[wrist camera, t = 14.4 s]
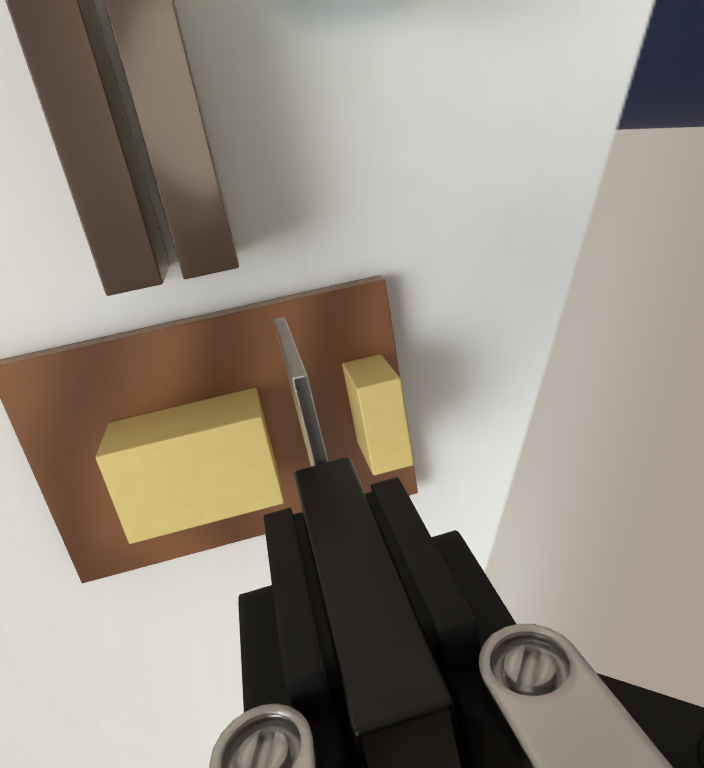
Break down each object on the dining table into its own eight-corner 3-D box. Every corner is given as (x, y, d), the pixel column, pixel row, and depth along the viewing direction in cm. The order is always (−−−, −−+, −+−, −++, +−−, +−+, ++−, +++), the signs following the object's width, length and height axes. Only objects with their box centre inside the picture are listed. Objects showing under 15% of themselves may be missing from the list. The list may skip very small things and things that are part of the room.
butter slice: (381, 353, 30) (400, 378, 27) (394, 433, 32) (414, 465, 29) (341, 362, 30) (356, 388, 27) (357, 442, 32) (373, 476, 28)
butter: (256, 386, 29) (261, 416, 26) (277, 466, 31) (284, 503, 28) (108, 422, 29) (95, 457, 25) (138, 502, 30) (128, 544, 27)
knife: (302, 311, 15) (430, 570, 6) (355, 535, 18) (498, 943, 9) (255, 323, 15) (316, 605, 6) (315, 546, 18) (421, 974, 9)
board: (379, 274, 30) (385, 279, 29) (413, 484, 34) (418, 493, 34) (-6, 360, 28) (-14, 368, 27) (85, 571, 32) (81, 584, 31)
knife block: (166, -32, 24) (157, -64, 20) (236, 251, 28) (239, 267, 24) (27, -10, 23) (-9, -39, 19) (120, 276, 27) (105, 296, 24)
